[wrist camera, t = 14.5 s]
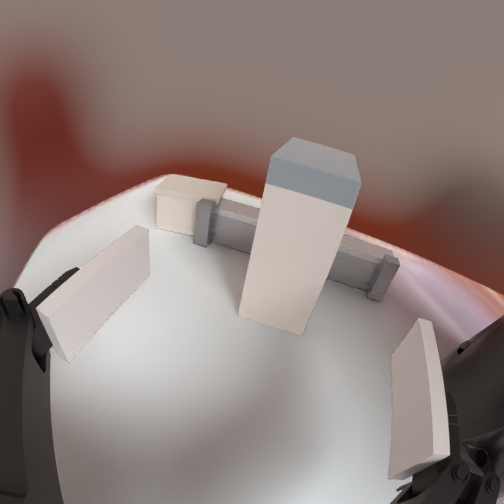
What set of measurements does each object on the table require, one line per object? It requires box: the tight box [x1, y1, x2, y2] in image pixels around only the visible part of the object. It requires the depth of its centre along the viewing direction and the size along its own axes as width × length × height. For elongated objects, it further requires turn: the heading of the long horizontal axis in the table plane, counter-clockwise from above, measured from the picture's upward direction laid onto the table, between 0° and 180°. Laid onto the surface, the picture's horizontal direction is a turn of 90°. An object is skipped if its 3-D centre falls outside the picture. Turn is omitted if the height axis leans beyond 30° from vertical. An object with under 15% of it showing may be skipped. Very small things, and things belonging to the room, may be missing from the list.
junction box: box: [155, 174, 227, 236], centre depth 30 cm, size 6×4×5 cm
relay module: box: [238, 137, 361, 336], centre depth 21 cm, size 5×8×12 cm, turn 164°
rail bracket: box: [193, 198, 400, 302], centre depth 28 cm, size 19×5×4 cm, turn 73°
